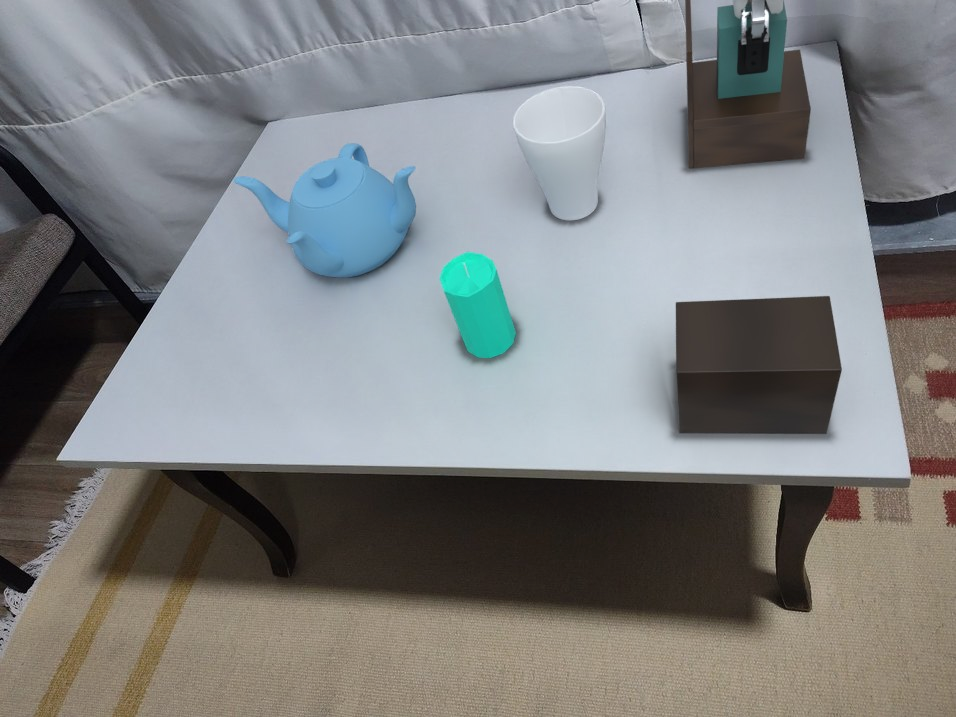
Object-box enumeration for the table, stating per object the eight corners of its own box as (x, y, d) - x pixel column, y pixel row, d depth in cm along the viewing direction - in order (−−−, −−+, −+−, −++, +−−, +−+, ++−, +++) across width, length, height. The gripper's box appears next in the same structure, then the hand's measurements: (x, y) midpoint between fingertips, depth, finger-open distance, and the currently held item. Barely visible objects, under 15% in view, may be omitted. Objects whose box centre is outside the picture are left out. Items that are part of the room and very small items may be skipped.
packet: (777, 69, 91) (783, -3, 84) (780, 92, 88) (787, 19, 81) (716, 77, 93) (717, 6, 86) (717, 99, 90) (719, 28, 83)
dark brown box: (816, 363, 73) (829, 295, 66) (826, 434, 69) (842, 369, 61) (678, 366, 77) (675, 301, 69) (679, 433, 72) (676, 372, 65)
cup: (530, 237, 93) (508, 149, 83) (535, 181, 100) (515, 92, 89) (616, 229, 91) (605, 137, 80) (616, 172, 97) (605, 79, 87)
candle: (464, 321, 87) (435, 247, 78) (514, 313, 86) (492, 237, 77) (464, 362, 84) (434, 289, 75) (517, 354, 83) (493, 279, 74)
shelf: (794, 98, 98) (808, -24, 85) (804, 158, 91) (820, 35, 78) (687, 110, 101) (685, -6, 89) (688, 168, 94) (686, 52, 82)
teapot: (331, 316, 93) (289, 245, 84) (272, 244, 104) (229, 174, 95) (444, 241, 97) (415, 165, 87) (375, 179, 108) (343, 106, 98)
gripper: (809, -79, 68) (791, 89, 81) (790, -157, 78) (777, 3, 91) (721, -64, 70) (718, 97, 83) (714, -143, 80) (712, 12, 93)
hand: (749, 47), depth 87 cm, fingers open, 9 cm apart
